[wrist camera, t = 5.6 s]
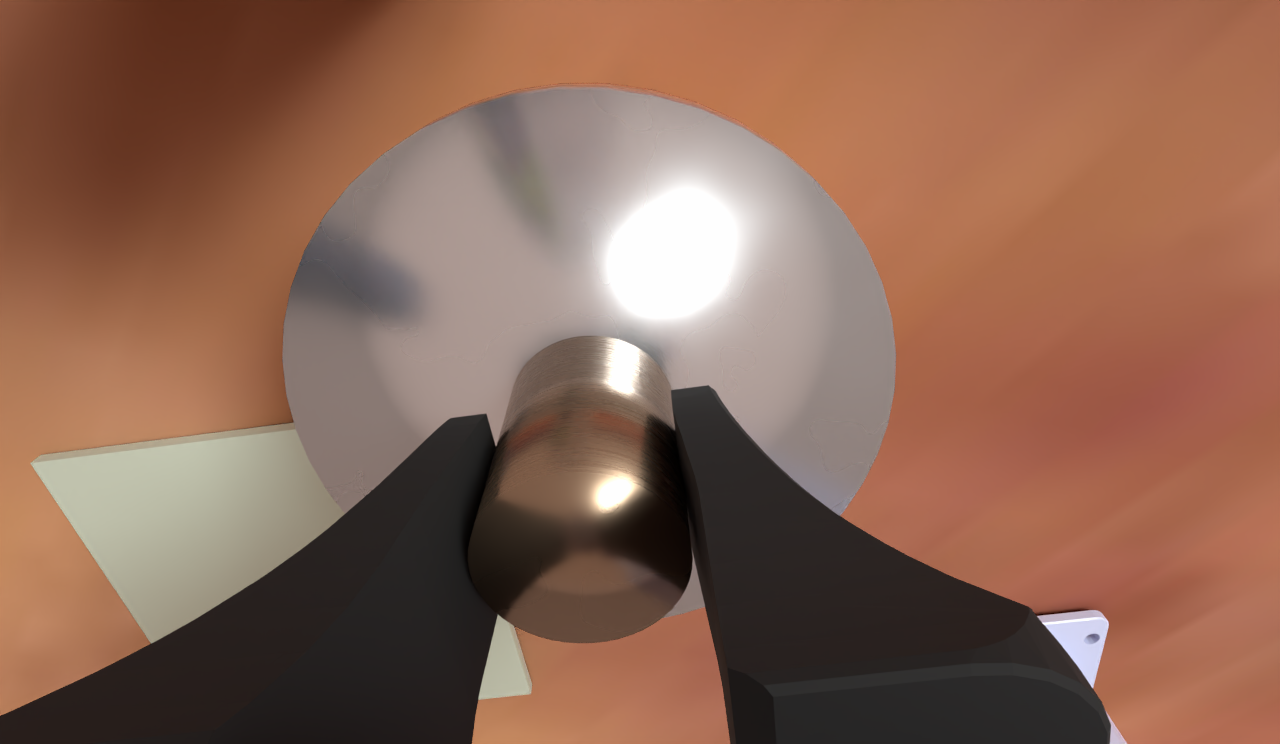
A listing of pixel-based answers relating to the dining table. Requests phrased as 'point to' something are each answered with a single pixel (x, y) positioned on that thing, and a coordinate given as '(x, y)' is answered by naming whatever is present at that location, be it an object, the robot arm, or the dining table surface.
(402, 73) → the dining table surface
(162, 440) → the mat
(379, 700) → the robot arm
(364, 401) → the lid
